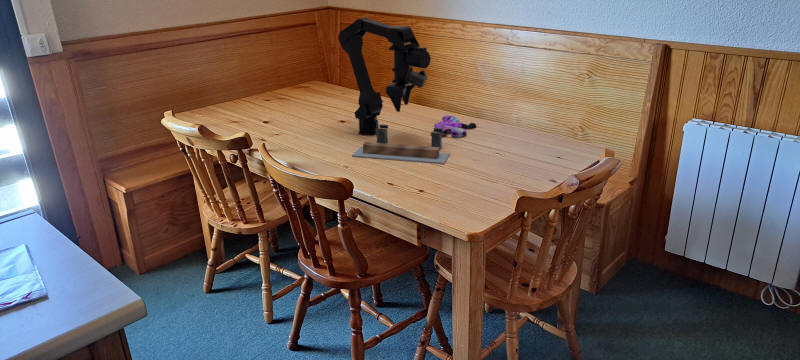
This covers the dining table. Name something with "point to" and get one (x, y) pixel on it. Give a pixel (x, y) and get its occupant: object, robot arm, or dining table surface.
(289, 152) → the dining table surface
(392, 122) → the dining table surface
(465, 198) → the dining table surface
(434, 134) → the grey block
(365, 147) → the rail
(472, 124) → the decorative sculpture
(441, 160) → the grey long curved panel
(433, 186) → the dining table surface
